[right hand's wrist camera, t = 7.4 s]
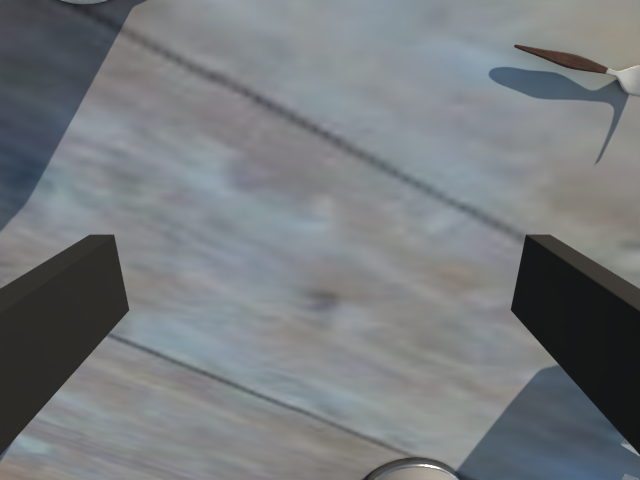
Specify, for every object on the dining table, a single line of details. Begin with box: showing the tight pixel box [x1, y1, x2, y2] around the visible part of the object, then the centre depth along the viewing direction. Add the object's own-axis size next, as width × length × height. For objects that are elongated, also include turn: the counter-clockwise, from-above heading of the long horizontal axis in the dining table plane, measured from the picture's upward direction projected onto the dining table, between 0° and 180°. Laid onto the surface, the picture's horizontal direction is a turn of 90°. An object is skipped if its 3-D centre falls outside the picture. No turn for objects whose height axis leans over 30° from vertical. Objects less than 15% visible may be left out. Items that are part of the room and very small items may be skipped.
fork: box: [514, 45, 640, 96], centre depth 35 cm, size 3×16×2 cm, turn 77°
